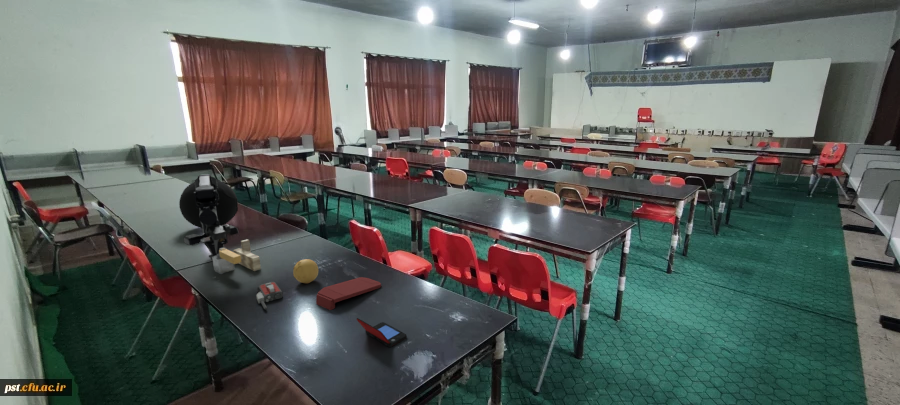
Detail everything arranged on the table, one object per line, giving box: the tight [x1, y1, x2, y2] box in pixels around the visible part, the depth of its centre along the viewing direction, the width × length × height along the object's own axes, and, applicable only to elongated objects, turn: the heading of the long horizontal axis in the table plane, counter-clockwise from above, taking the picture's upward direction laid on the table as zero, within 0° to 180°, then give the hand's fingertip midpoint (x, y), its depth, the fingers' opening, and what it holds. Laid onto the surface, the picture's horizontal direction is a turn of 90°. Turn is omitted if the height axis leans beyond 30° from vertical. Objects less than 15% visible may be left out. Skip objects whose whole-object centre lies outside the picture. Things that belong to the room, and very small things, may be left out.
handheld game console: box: [356, 317, 407, 348], centre depth 125 cm, size 12×11×7 cm
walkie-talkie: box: [255, 281, 283, 311], centre depth 151 cm, size 9×4×20 cm
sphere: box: [178, 178, 239, 229], centre depth 234 cm, size 30×30×30 cm
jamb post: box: [211, 256, 236, 275], centre depth 176 cm, size 6×6×7 cm
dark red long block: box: [315, 276, 382, 311], centre depth 154 cm, size 12×5×25 cm
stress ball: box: [292, 258, 319, 284], centre depth 163 cm, size 10×10×10 cm
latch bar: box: [217, 247, 241, 265], centre depth 171 cm, size 16×4×3 cm, turn 53°
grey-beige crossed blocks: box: [233, 238, 262, 272], centre depth 182 cm, size 18×6×10 cm, turn 53°
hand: (215, 254), depth 163 cm, fingers closed
